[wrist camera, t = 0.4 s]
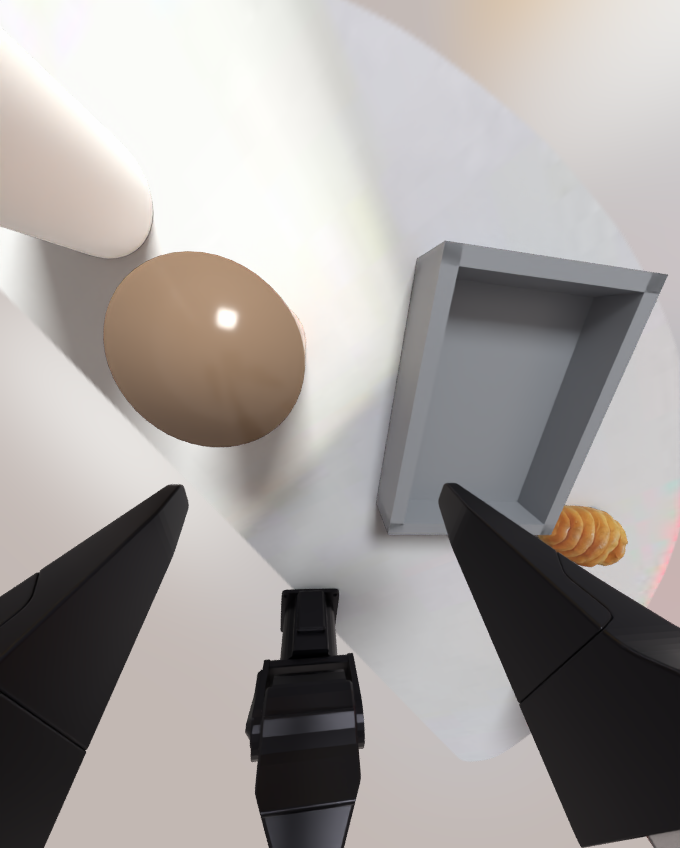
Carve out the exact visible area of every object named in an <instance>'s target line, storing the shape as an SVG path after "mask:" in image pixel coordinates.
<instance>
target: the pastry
mask: <svg viewBox="0 0 680 848" xmlns="http://www.w3.org/2000/svg"><path fill="white" fill-rule="evenodd" d="M538 537H539V539H540V540H542V541H543V542H544V543H546V544H547V545H549V546H550V547H552V548H553V549H555V550H556V552H559V553H561V554H562V555H564V556H565V557H567V558H568V559H569V560H571V561H573V562H575V563H577V564H578V565H581V566H587V567H593V566H595V565H597V564H599V565H603V566H607V565H611V564H613V563H616V562H618V561H619V560H620V559H621V558H622V557H623V556H624V554H625V546H626V544H627V543H628V541H627V538H626V533H625V531H624V529H623V528H622V526H621V525H620V524H619V522H617V521H616V520H614V519H613V518H612V517H611V516H610V515H609V514H608V513H606V512H604V511H600V510H597V509H594V508H591V507H583V506H582V507H581V506H567V505H564V507H563V509H562V512H561V514H560V516H559V518H558V521H557V523H556V525H555V527H554V529H553V532H552V534H551V535H538Z"/></svg>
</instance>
